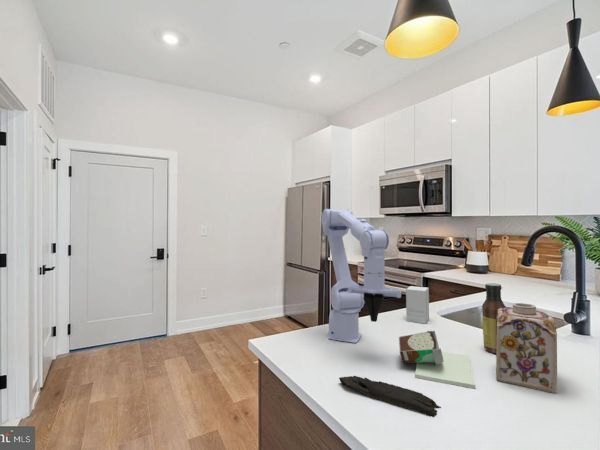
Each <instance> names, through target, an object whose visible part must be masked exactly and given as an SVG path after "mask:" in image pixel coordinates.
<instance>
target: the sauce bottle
mask: <svg viewBox="0 0 600 450" xmlns="http://www.w3.org/2000/svg"><path fill="white" fill-rule="evenodd" d="M484 285H485V286H484V287H485V291H486V292H485V293H486V294H485V295H486V299H485V301H484V302H483V303H482V334H483V335H482V336H483V345H484V346H483V348H484V350H485V351H487V352H489V353H491V354H495V355H496V339H497V335H496V334H497V325H496V324H497V320H496V319H497V310H498V309H500V308H507V307H506V305H505V304H504V301H503V300H502V293H501V290H502V285H501V284H500V283H493V282H492V283H491V282H489V283H488V282H487V283H485V284H484Z"/></svg>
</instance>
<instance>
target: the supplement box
mask: <svg viewBox="0 0 600 450" xmlns="http://www.w3.org/2000/svg"><path fill="white" fill-rule="evenodd" d="M429 290H430V289H429V287H428V286H427V287H425V286H416V285H414V286H413V285H410V286H408V287H407V288H406V289H405V301H406V302H405V307H406V309H405V312H406V314H405V315H406V322H412V323H417V324H427V323H428V321H429V320H430V295H429V294H430V291H429Z"/></svg>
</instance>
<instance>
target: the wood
mask: <svg viewBox="0 0 600 450" xmlns="http://www.w3.org/2000/svg"><path fill="white" fill-rule="evenodd" d="M338 379H339V382H340V384H342V385H344V386H348V387H349V388H352V389H355V390H357V391H358V392H361V394H363V395H365V396H367V397H369V398H372V399H374V400H375V399H376V400H380V401H384V402H388V403H390V404H393V405H395V406H398V407H400V408H401V407H402V408H404V409H408V410H410V411H413V412H416V413H417V412H418V413H420V414H422V415H425V414H426V415H425V416H428V417H431V416H432V418H435V417H436V416H437V415H438V410H437V409H442V406H440V405H438V404H437V403H436V401H434V399H432V398H430V397H429V396H426V395H424V394H423V393H421V392H419V391H415V390H413V389H410V388H404V387H401V386H399V385H396V384H392V383H391V384H390V383H387V382H383V381H376V380H371V379H369V378H368V377H364V378H363V377H360V376H358V375H353V376H352V375H351V376H341V377H338Z"/></svg>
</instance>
